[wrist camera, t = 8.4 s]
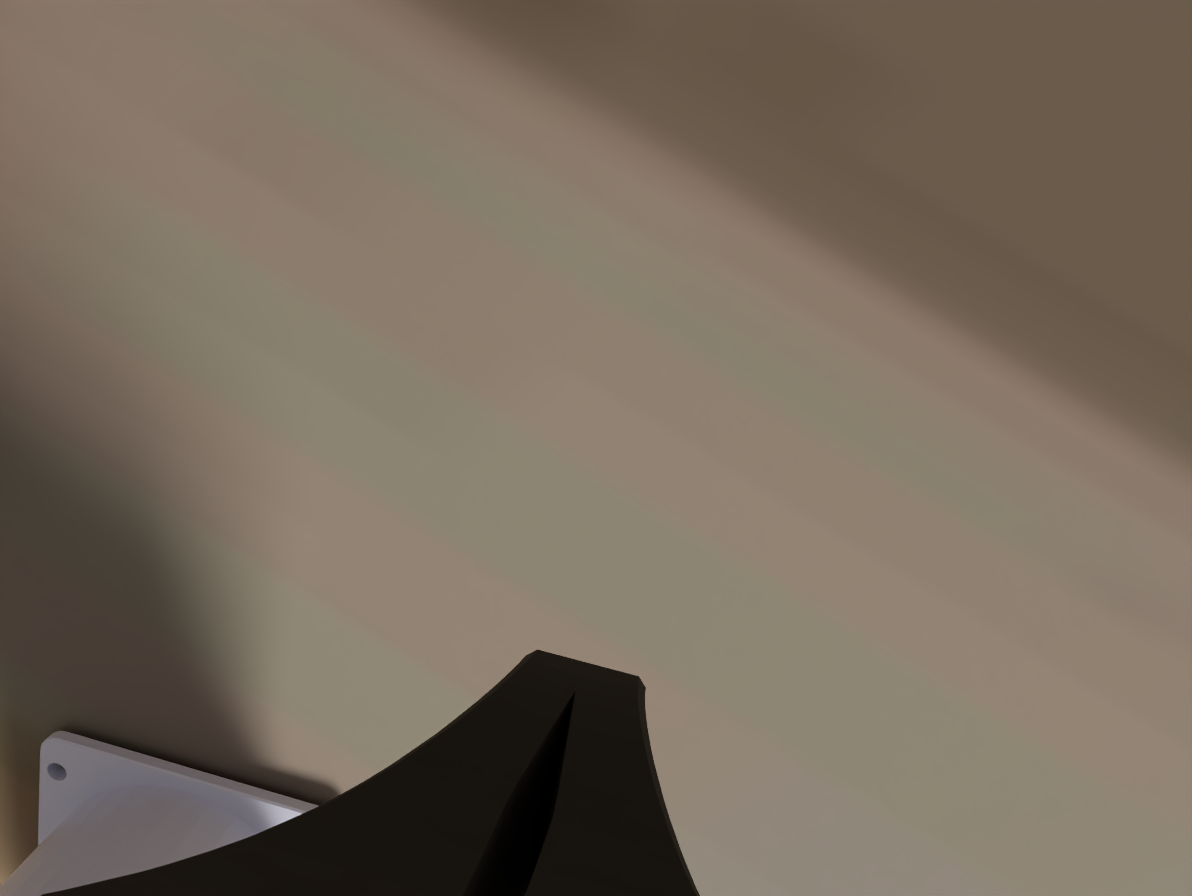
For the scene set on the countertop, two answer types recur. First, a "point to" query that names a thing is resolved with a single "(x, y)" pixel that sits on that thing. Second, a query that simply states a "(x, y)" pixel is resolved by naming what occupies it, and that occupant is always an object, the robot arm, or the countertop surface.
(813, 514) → the countertop surface
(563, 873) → the robot arm
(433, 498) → the countertop surface
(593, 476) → the countertop surface
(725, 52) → the countertop surface
